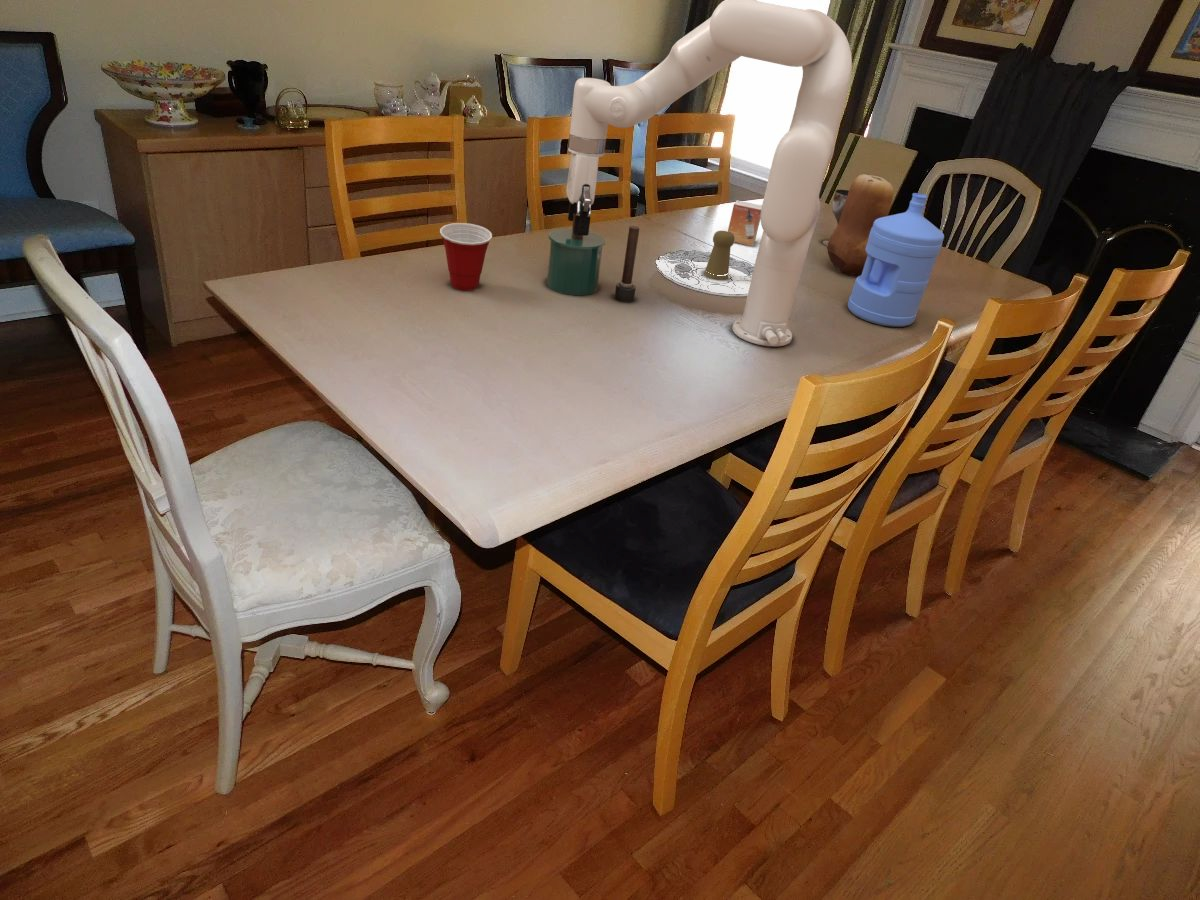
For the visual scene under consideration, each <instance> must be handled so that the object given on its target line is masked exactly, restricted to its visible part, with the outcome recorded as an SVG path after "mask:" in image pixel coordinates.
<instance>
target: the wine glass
mask: <svg viewBox="0 0 1200 900" xmlns="http://www.w3.org/2000/svg"><path fill="white" fill-rule="evenodd" d="M849 190H850V189H835V191H834V195H833V199H832V206H831V207H832V208H831V209H832V214H833V216H834V217H835V220H836V223H837V225H838V223H839V221H840V218H841V214H842V211H843V208H844V206H845V203H846V200H847V196H848V192H849ZM829 240H830V239H827V240H823V241H822V244H823V245H825V246H827V245H828V242H829Z"/></svg>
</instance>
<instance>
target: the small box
mask: <svg viewBox="0 0 1200 900" xmlns="http://www.w3.org/2000/svg"><path fill="white" fill-rule="evenodd" d="M761 209H762V204H756V203H752V202H746V201H741V200H737V199H736V200H735V202H734V203H733V206H732V211H731V215H730V219H729V224H728V228H727V232H730V233H732V234H733V235H734V238H735V240H734V243H735V244H740V245H743V246H748V247H753V246H754V244H755V242H756V239H757V235H758V230H759V228H760V224H761V219H760V215H761Z"/></svg>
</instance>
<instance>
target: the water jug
mask: <svg viewBox="0 0 1200 900" xmlns="http://www.w3.org/2000/svg"><path fill="white" fill-rule="evenodd" d="M927 199H928V195H926V194H924V193H919V192H913V193H912V197H911V200H910V201H909V205H908V208H907V209H906V211H904V212H900V213H896V214H891V215H888V216H886V217H882V218H878V219H876V220H875V221H874V224H873V227H872V228H871V231H870V234H869V238H868V243H867V246H866V252H867V259H866V262H865V265H864V269H863V272H862V273H861V275H858V276H856V278H855V280H854V284H853V287H852V291H851V294H850V296H849V298H848V301H847V308H848V310H849V311H850V313H851V314H853V315H854V316H856V317H858V318H859V319H860V320H863V321H866V322H869V323H871V324H875V325H878V326H883V327H891V328H903V327H908V326H910V325H912V324H913V323H914V322H915V320H916V317H917V315H918V311H919V308H920V305H921V302H922V299H923V296H924V294H925V291H926V289H927V287H928V285H929V283H930V278H931V274H932V272H933V269H934V266H935V264H936V261H937V259H938V256H939V254H940V253H941V249H942V247H943V241H944V239H945V234H944V233H943V232H942V231H941V230H940V229H939V228H938V227H937V226H935V225H934V224H933V223H932V222H931V221H929V220H928V219H927V218H925V217H924V216H923V211H924V208H925V206H926V201H927Z"/></svg>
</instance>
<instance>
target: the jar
mask: <svg viewBox="0 0 1200 900" xmlns="http://www.w3.org/2000/svg"><path fill="white" fill-rule="evenodd" d="M603 247H604V246H603ZM603 247H601V248H598V249H589V250H584V249H573V248H568V247H564V246H561V245H558V244H556V243H554V242H552V241H551V240H550V242H549V253H548V265H547V276H546V277H547V278H546V284H547V286H548V287H549V289H551V290H553V291H555V292H557V293H561V294H565V295H571V296H587V295H591V294H594V293H596V292H597V291H598V287H599V279H600V272H601V263H602V256H603Z"/></svg>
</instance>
